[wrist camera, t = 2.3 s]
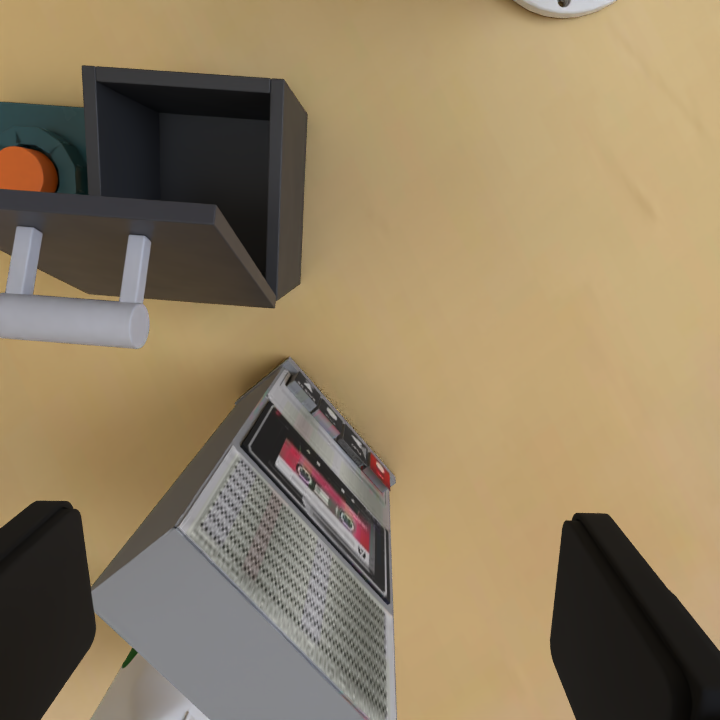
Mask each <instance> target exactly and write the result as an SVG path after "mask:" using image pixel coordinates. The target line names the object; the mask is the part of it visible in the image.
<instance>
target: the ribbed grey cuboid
mask: <svg viewBox="0 0 720 720" xmlns="http://www.w3.org/2000/svg"><path fill="white" fill-rule="evenodd" d="M235 405H236V406H235V407H234V408H233V410H232V411H231V412H230V413H229V415H228V416H227V417H226V418H225V420H224V421H223V422H222V423H221V425H220V426H219V427H218V428H217V430H216V431H215V432H214V433H213V435H212V436H211V437H210V438H209V440H208V441H207V442H206V443H205V445H204V446H203V447H202V448H201V450H200V451H199V452H198V454H197V455H196V456H195V457H194V459H193V460H192V461H191V462H190V464H189V465H188V466H187V467H186V469H185V470H184V471H183V472H182V474H181V475H180V476H179V477H178V479H177V480H176V481H175V482H174V484H173V485H172V486H171V487H170V489H169V490H168V491H167V492H166V494H165V495H164V496H163V497H162V499H161V500H160V501H159V502H158V504H157V505H156V506H155V507H154V509H153V510H152V511H151V513H150V514H149V515H148V516H147V518H146V519H145V520H144V521H143V523H142V524H141V525H140V526H139V528H138V529H137V530H136V531H135V533H134V534H133V535H132V536H131V538H130V539H129V540H128V541H127V543H126V544H125V545H124V546H123V548H122V549H121V550H120V551H119V553H118V554H117V555H116V556H115V558H114V559H113V560H112V561H111V563H110V564H109V565H108V566H107V568H106V569H105V570H104V572H103V573H102V574H101V575H100V577H99V578H98V579H97V580H96V582H95V583H94V584H93V585H92V587H91V593H92V600H93V608H94V612H95V613H96V614H97V615H98V616H99V617H100V618H101V619H102V620H103V621H105V622H106V623H107V624H108V625H109V626H110V627H111V628H112V629H113V630H114V631H115V632H116V633H117V634H118V635H120V636H121V637H122V638H123V639H124V640H125V641H126V642H127V643H128V644H129V645H130V646H131V647H132V648H133V649H135V650H136V651H137V652H138V653H139V654H140V655H141V656H142V657H143V658H144V659H145V660H146V661H147V662H148V663H150V664H151V665H152V666H153V667H154V668H155V669H156V670H157V671H158V672H159V673H160V674H161V675H162V676H163V677H165V678H166V679H167V680H168V681H169V682H170V683H171V684H172V685H173V686H174V687H175V688H176V689H177V690H178V691H180V692H181V693H182V694H183V695H184V696H185V697H186V698H187V699H188V700H189V701H190V702H191V703H192V704H193V705H195V706H196V707H197V708H198V709H199V710H200V711H201V712H202V713H203V714H204V715H205V716H206V717H207V718H208V719H210V720H397V707H396V677H395V648H394V618H393V589H392V559H391V530H390V500H389V491H390V487H391V486H392V485H394V484H395V483H396V480H395V476H394V475H393V474H392V473H391V471H390V470H389V469H388V468H387V467H386V466H385V465H384V464H383V462H382V461H381V460H380V459H379V458H378V457H377V456H376V454H375V453H374V452H373V451H372V450H371V449H370V448H369V446H368V445H367V444H366V443H365V442H364V441H363V440H362V438H361V437H360V436H359V435H358V434H357V433H356V432H355V430H354V429H353V428H352V427H351V426H350V425H349V424H348V422H347V421H346V420H345V419H344V418H343V417H342V416H341V414H340V413H339V412H338V411H337V410H336V409H335V408H334V406H333V405H332V404H331V403H330V402H329V401H328V400H327V398H326V397H325V396H324V395H323V394H322V393H321V392H320V390H319V389H318V388H317V387H316V386H315V385H314V384H313V382H312V381H311V380H310V379H309V378H308V377H307V376H306V374H305V373H304V372H303V371H302V370H301V369H300V368H299V366H298V365H297V364H296V363H295V362H294V361H293V360H292V358H291V357H289V358H288V359H286V360H285V361H284V362H283V363H281V364H280V365H279V366H278V367H277V368H275V369H274V370H273V371H272V372H270V373H269V374H268V375H267V376H266V377H264V378H263V379H262V380H261V381H260V382H258V383H257V384H256V385H255V386H253V387H252V388H251V389H250V390H249V391H247V392H246V393H245V394H244V395H243V396H241V397H240V398H239V399H238V400H237V401H236V402H235Z"/></svg>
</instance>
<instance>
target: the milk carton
mask: <svg viewBox="0 0 720 720" xmlns="http://www.w3.org/2000/svg"><path fill="white" fill-rule="evenodd" d="M90 720H210V719H208V718H207V717H206V716H205V715H204V714H203V713H202V712H201V711H200V710H199V709H198V708H197V707H196V706H195V705H193V704H192V703H191V702H190V701H189V700H188V699H187V698H186V697H185V696H184V695H183V694H182V693H181V692H180V691H178V690H177V689H176V688H175V687H174V686H173V685H172V684H171V683H170V682H169V681H168V680H167V679H166V678H165V677H163V676H162V675H161V674H160V673H159V672H158V671H157V670H156V669H155V668H154V667H153V666H152V665H151V664H150V663H148V662H147V661H146V660H145V659H144V658H143V657H142V656H141V655H140V654H139V653H138V652H137V651H136V650H135V649H133V648H132V649H131V651H130V653H129V655H128V656H127V658H126V660H125V661H124V663H123V665H122V667H121V668H120V670H119V672H118V673H117V675H116V677H115V678H114V680H113V682H112V684H111V685H110V687H109V689H108V690H107V692H106V694H105V696H104V697H103V699H102V701H101V702H100V704H99V706H98V707H97V709H96V711H95V712H94V714H93V716H92V717H91V719H90Z"/></svg>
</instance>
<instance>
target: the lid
mask: <svg viewBox="0 0 720 720" xmlns="http://www.w3.org/2000/svg"><path fill="white" fill-rule="evenodd" d="M0 250H1V251H3V252H5V253H7V254H9V255H11V262H10V268H9V273H8V279H7V285H6V291H5V293H0V338H6V339H19V340H31V341H44V342H57V343H69V344H82V345H95V346H107V347H120V348H133V349H139V348H141V347H142V346H143V345H144V344H145V342H146V340H147V337H148V333H149V314H148V311H147V308H146V307H145V306H144V305H143V299H144V298H145V299H158V300H171V301H184V302H197V303H210V304H223V305H236V306H249V307H262V308H275V304H276V295H275V294H274V292H273V291H272V289H271V288H270V286H269V285H268V283H267V282H266V280H265V279H264V277H263V275H262V274H261V272H260V271H259V269H258V268H257V266H256V265H255V263H254V262H253V260H252V259H251V257H250V256H249V254H248V253H247V251H246V250H245V248H244V246H243V245H242V243H241V242H240V240H239V239H238V237H237V236H236V234H235V233H234V231H233V230H232V228H231V227H230V225H229V224H228V222H227V220H226V219H225V217H224V216H223V214H222V213H221V211H220V210H219V208H218V207H217V205H214V204H201V203H187V202H173V201H160V200H146V199H133V198H119V197H105V196H92V195H78V194H65V193H51V192H37V191H24V190H10V189H0ZM37 269H39V270H41V271H43V272H45V273H47V274H49V275H51V276H53V277H55V278H57V279H59V280H61V281H63V282H65V283H67V284H69V285H71V286H73V287H75V288H77V289H79V290H81V291H83V292H85V293H87V294H93V295H106V296H119V297H120V299H119V301H106V300H94V299H81V298H68V297H55V296H42V295H33V290H34V284H35V278H36V272H37Z"/></svg>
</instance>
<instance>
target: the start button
mask: <svg viewBox="0 0 720 720" xmlns="http://www.w3.org/2000/svg"><path fill="white" fill-rule="evenodd" d="M57 185H58V175H57V171H56V168H55V166H54V164H53V163H52V161H51V160H50V159H49V158H48V157H47V156H46V155H44V154H43V153H41V152H39V151H36V150H32V149H28V148H23V147H18V146H10V147H6V148H4V149H2V150H1V151H0V189H10V190H24V191H37V192H51V193H55V191H56V189H57Z"/></svg>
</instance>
